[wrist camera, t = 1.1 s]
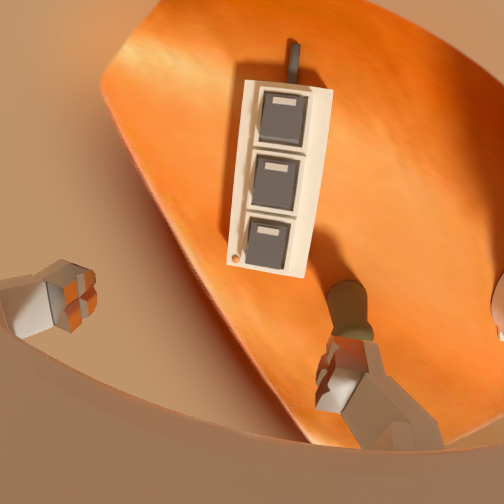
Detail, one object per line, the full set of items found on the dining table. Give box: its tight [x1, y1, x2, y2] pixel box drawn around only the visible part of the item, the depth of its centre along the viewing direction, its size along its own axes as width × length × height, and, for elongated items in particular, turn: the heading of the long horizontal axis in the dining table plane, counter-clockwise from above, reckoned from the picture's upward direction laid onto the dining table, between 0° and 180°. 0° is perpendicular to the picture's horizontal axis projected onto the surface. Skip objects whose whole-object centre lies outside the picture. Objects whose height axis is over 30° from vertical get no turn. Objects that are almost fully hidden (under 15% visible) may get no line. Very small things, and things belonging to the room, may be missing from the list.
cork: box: [327, 280, 374, 342], centre depth 37 cm, size 6×6×11 cm
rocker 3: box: [245, 222, 287, 270], centre depth 35 cm, size 4×5×2 cm
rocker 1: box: [260, 94, 304, 144], centre depth 30 cm, size 4×5×2 cm
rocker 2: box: [252, 158, 296, 208], centre depth 33 cm, size 4×5×2 cm
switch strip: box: [227, 43, 333, 278], centre depth 35 cm, size 10×29×6 cm, turn 173°
